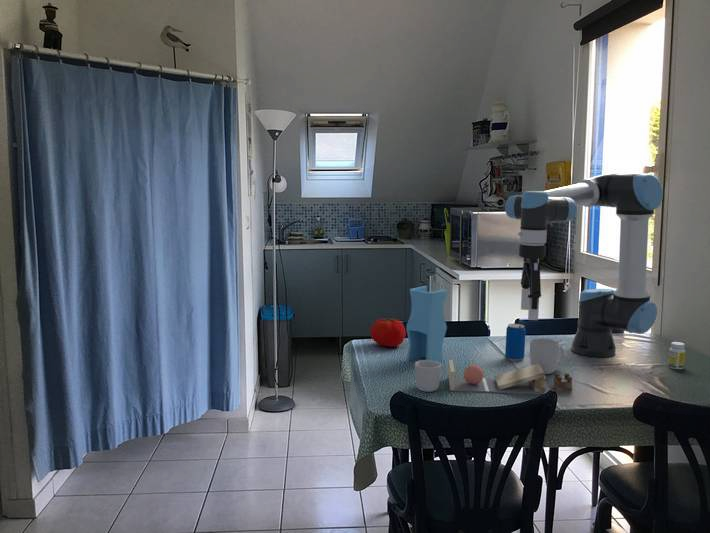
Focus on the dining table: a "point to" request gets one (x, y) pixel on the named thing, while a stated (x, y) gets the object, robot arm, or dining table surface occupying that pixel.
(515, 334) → the beverage can
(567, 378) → the brown block with bumps
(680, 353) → the supplement bottle
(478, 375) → the ball
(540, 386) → the ramp
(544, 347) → the mug
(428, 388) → the cup
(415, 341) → the vase
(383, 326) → the tomato
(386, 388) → the dining table surface
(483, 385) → the runway
